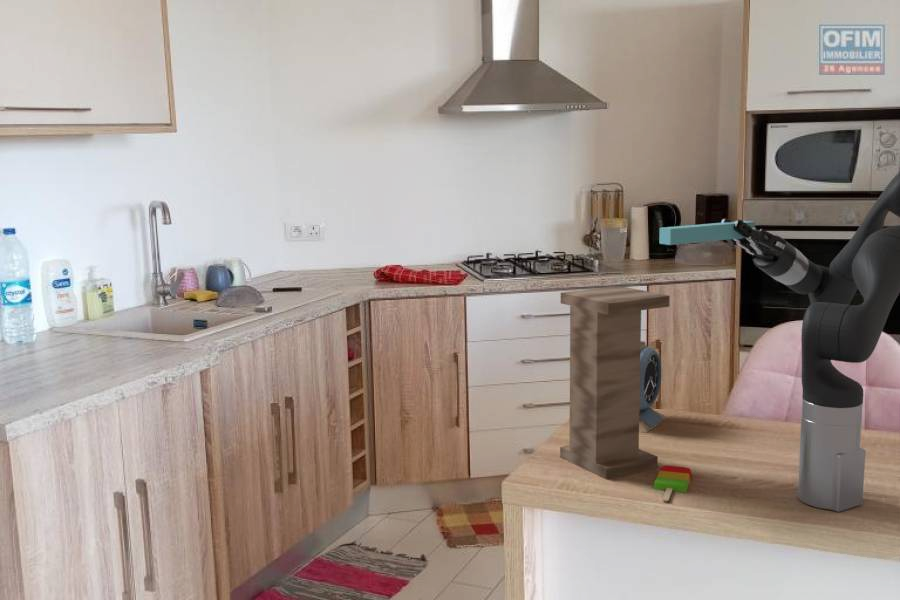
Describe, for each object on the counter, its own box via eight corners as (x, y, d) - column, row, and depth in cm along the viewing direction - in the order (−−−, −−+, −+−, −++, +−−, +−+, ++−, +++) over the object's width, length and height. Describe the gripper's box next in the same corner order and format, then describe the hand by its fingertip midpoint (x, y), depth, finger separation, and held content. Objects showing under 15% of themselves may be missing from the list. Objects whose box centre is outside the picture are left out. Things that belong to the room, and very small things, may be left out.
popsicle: (692, 476, 169) (692, 467, 169) (681, 507, 155) (682, 496, 155) (661, 473, 171) (661, 463, 171) (648, 503, 157) (648, 493, 157)
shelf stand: (665, 464, 174) (669, 295, 169) (606, 479, 167) (608, 303, 162) (617, 444, 186) (619, 285, 181) (560, 456, 179) (560, 292, 174)
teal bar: (754, 236, 185) (755, 221, 184) (670, 244, 174) (670, 228, 174) (743, 235, 187) (743, 220, 187) (659, 243, 177) (659, 227, 176)
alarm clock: (645, 434, 192) (646, 350, 189) (600, 427, 197) (601, 345, 194) (667, 416, 204) (669, 337, 201) (625, 410, 209) (626, 333, 206)
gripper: (761, 241, 198) (710, 204, 189) (816, 247, 186) (764, 207, 177) (747, 273, 197) (695, 237, 189) (801, 281, 185) (748, 243, 177)
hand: (729, 223), depth 183 cm, fingers closed on teal bar, 3 cm apart
